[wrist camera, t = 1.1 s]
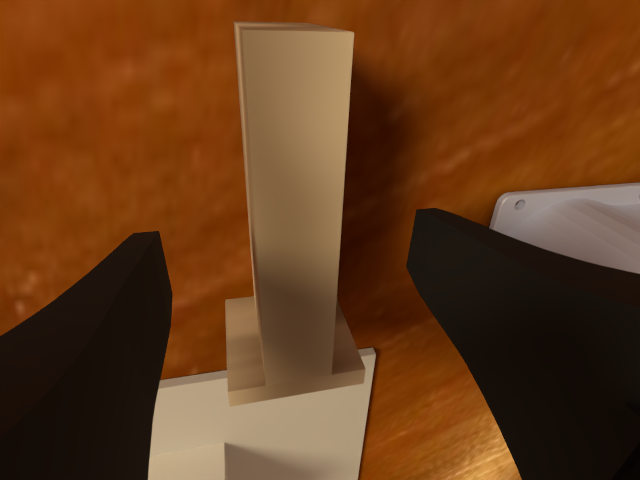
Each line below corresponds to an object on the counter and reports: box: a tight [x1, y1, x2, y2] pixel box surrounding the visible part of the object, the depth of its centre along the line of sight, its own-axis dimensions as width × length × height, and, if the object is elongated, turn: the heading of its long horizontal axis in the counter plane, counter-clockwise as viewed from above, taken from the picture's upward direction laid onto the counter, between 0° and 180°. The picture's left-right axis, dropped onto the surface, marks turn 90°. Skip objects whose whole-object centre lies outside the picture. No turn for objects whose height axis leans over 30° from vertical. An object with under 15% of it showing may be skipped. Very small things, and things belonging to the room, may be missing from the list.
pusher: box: [225, 21, 366, 407], centre depth 13 cm, size 5×12×5 cm, turn 179°
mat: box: [150, 347, 376, 480], centre depth 23 cm, size 22×16×1 cm
